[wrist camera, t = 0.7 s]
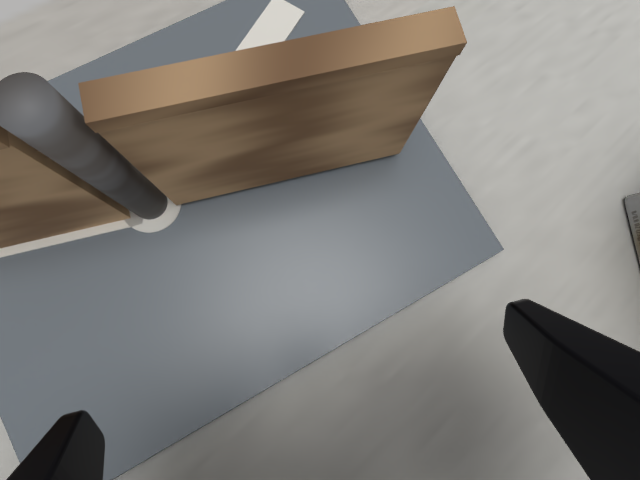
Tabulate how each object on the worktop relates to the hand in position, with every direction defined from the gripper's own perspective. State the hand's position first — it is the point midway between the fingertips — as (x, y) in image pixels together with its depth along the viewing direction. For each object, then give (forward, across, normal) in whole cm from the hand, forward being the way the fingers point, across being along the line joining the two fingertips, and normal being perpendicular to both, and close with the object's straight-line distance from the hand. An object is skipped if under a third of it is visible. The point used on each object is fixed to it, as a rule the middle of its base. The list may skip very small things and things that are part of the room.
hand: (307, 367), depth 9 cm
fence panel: (+13, -1, +1) cm, 13 cm away
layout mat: (+13, +3, +2) cm, 14 cm away
